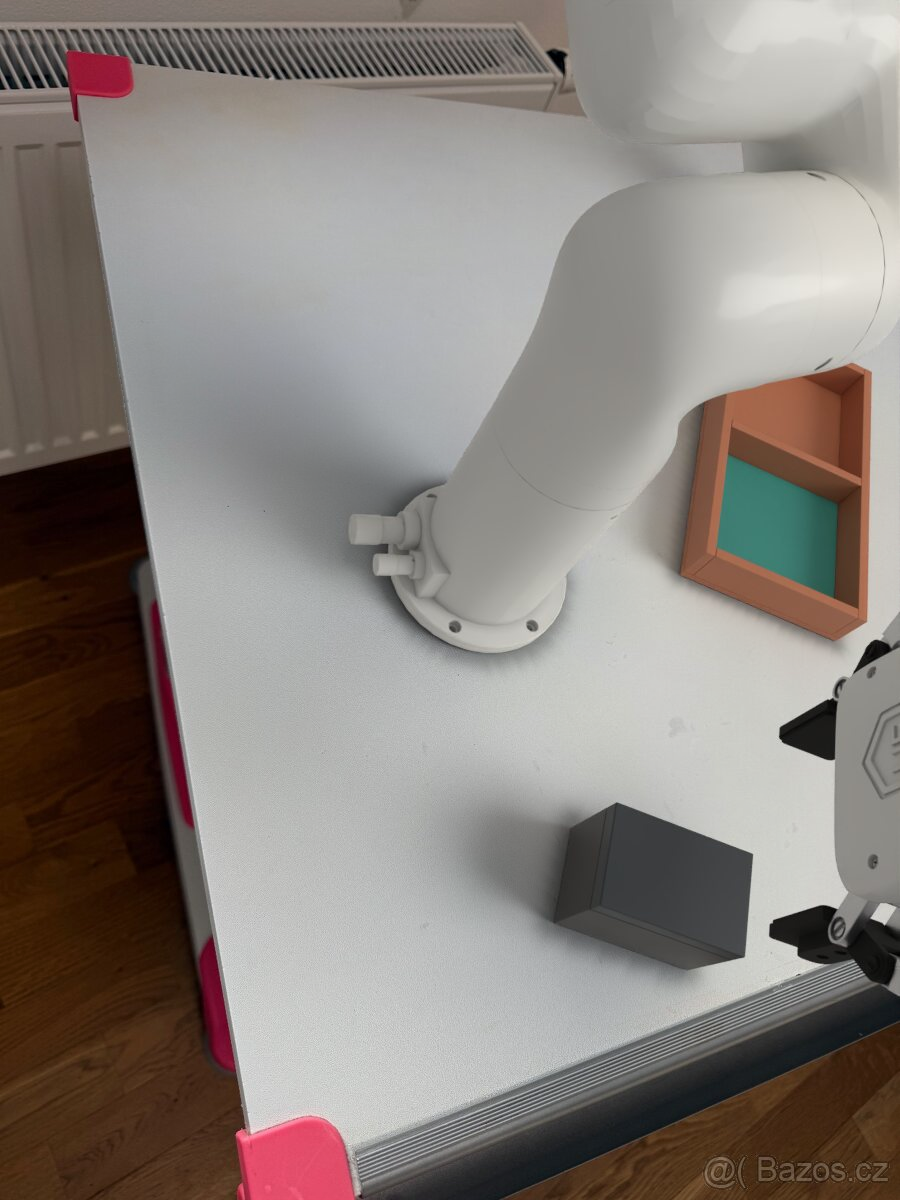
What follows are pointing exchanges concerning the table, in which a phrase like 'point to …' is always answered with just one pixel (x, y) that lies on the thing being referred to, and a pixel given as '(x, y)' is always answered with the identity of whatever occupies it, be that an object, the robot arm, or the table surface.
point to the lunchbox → (656, 888)
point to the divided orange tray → (787, 499)
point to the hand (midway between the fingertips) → (800, 837)
